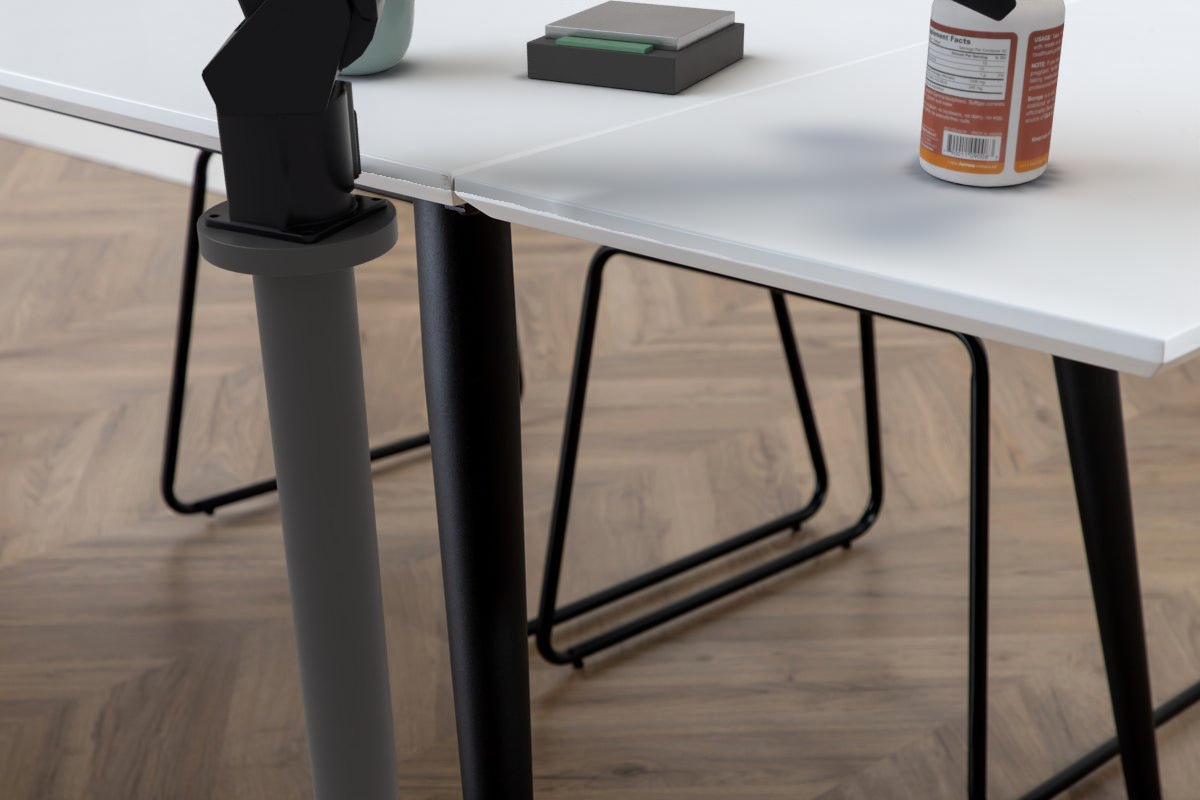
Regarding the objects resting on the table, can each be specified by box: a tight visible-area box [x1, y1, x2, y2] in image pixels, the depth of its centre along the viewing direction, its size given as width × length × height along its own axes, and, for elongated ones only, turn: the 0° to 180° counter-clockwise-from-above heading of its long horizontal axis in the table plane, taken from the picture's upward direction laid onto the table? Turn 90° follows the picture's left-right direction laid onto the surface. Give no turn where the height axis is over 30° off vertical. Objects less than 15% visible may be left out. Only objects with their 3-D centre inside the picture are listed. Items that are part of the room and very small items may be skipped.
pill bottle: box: [918, 0, 1066, 188], centre depth 70 cm, size 6×6×11 cm
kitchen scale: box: [526, 0, 745, 95], centre depth 92 cm, size 11×10×3 cm
